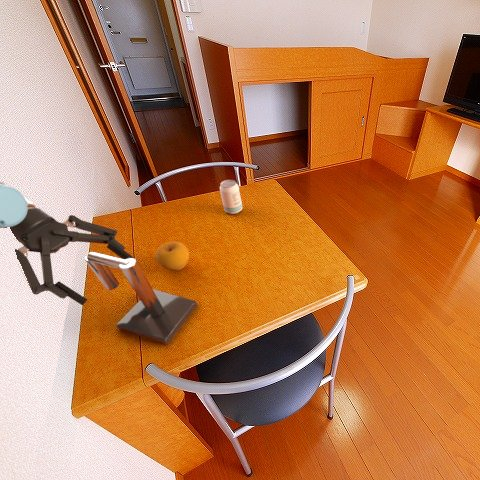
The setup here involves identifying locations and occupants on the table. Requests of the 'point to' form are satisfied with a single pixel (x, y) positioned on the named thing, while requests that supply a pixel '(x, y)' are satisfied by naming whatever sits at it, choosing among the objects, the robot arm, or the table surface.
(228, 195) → the beverage can
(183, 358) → the table surface
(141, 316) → the tap base
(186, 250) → the apple
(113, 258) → the spout
